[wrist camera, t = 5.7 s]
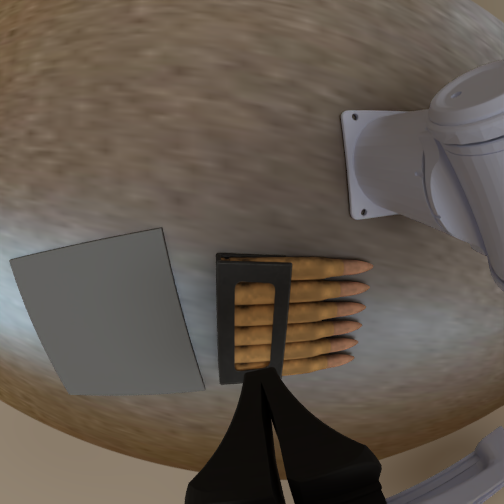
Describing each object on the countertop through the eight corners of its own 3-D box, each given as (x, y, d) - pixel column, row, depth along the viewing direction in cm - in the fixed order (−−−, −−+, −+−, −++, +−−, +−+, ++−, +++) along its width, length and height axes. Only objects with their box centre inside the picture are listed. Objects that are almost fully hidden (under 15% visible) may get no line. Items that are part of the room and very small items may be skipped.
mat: (161, 227, 21) (161, 228, 20) (205, 388, 25) (205, 390, 25) (11, 259, 20) (9, 260, 20) (70, 392, 25) (69, 394, 24)
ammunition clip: (218, 371, 24) (348, 359, 26) (219, 385, 23) (355, 371, 24) (216, 252, 21) (369, 251, 23) (216, 261, 20) (380, 258, 21)
